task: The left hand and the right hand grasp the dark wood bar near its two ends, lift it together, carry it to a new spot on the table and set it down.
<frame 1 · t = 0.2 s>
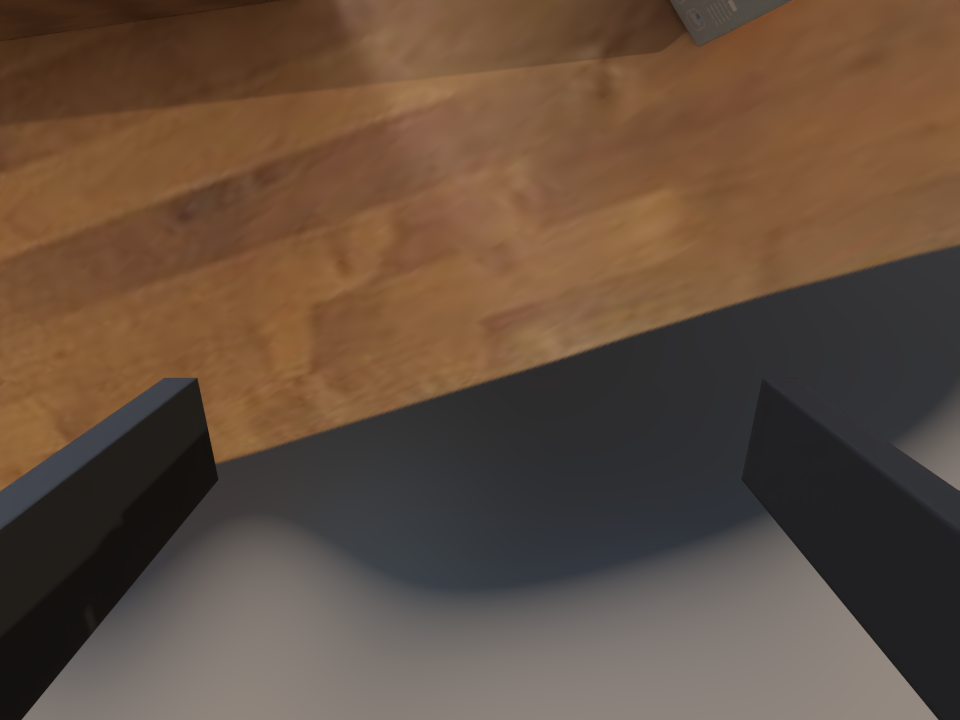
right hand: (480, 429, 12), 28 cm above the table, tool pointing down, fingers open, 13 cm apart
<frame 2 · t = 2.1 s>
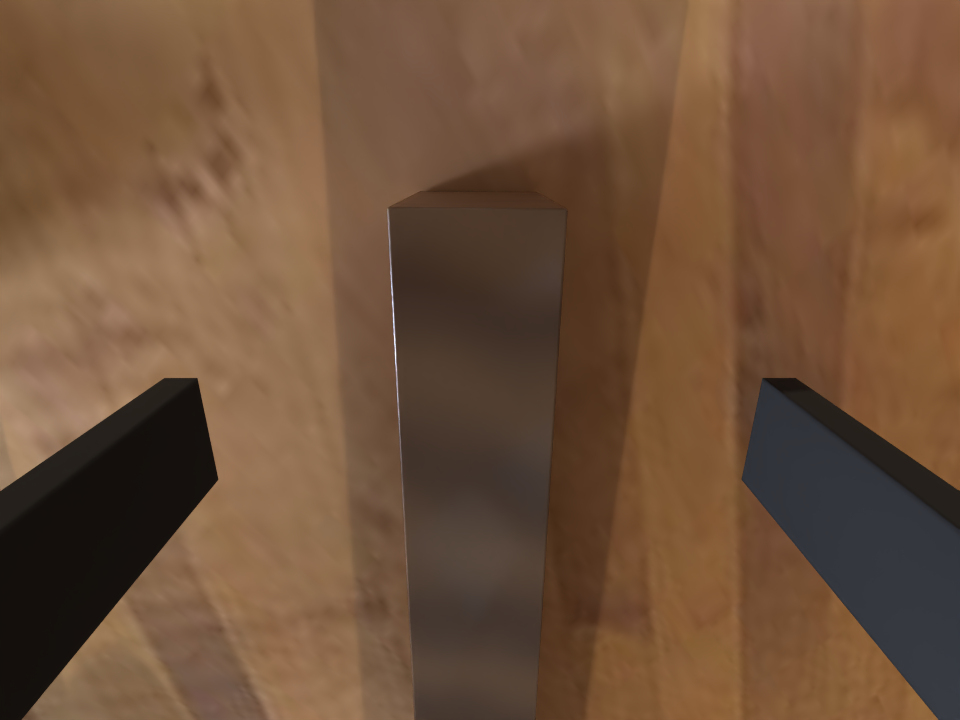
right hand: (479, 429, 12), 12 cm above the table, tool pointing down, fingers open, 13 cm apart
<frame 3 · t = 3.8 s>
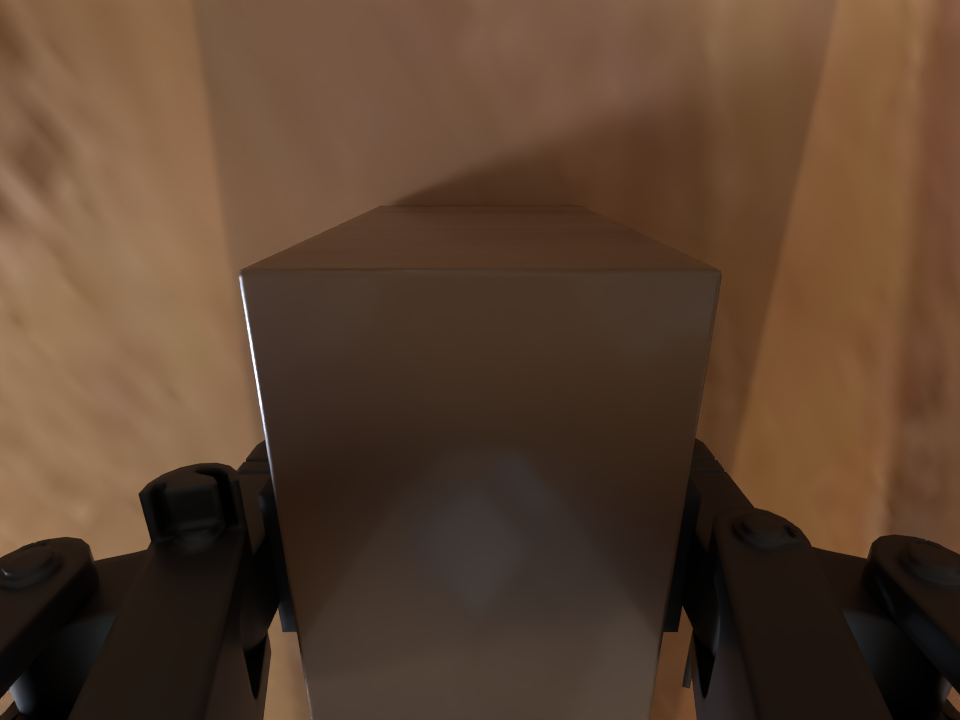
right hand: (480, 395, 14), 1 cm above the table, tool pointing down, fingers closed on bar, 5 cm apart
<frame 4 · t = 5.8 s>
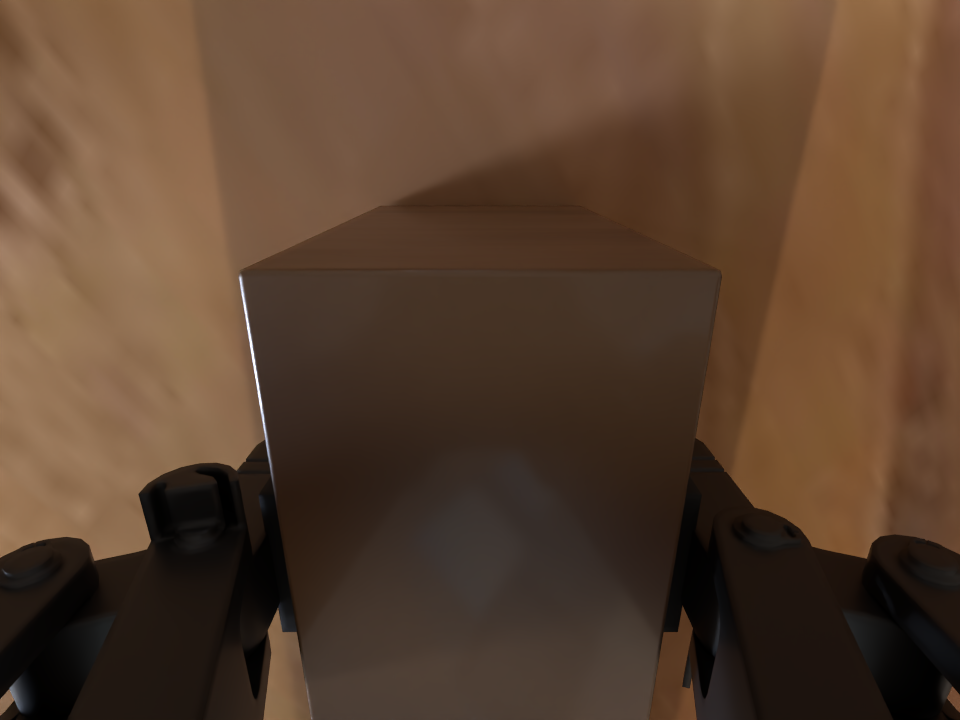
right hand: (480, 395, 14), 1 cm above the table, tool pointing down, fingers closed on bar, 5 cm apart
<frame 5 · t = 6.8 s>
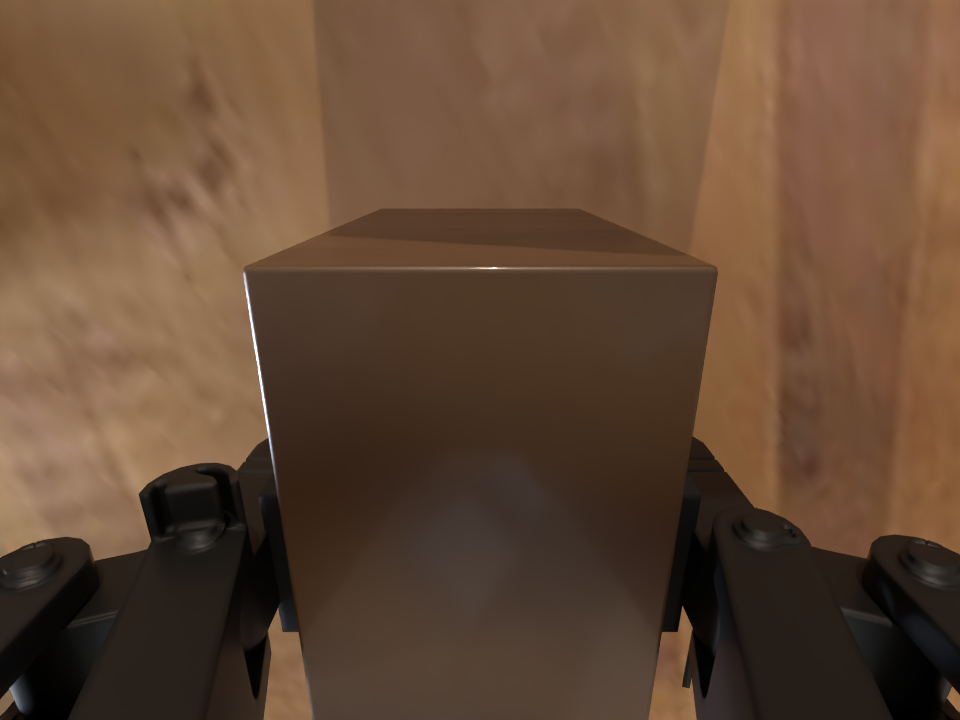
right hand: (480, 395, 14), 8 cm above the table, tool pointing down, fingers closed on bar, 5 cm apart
when the left hand's fingers open (2 cm above the table, at t = 10.1 s): bar stays where it is, on the table.
when the right hand's fingers open (2 cm above the table, at t = 10.1 s): bar stays where it is, on the table.
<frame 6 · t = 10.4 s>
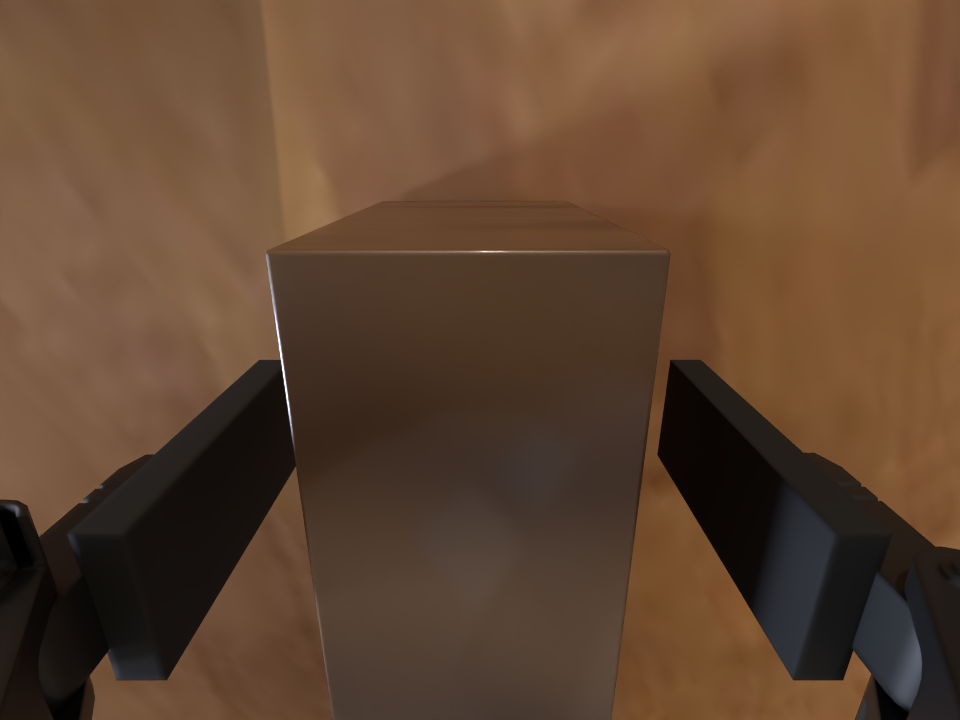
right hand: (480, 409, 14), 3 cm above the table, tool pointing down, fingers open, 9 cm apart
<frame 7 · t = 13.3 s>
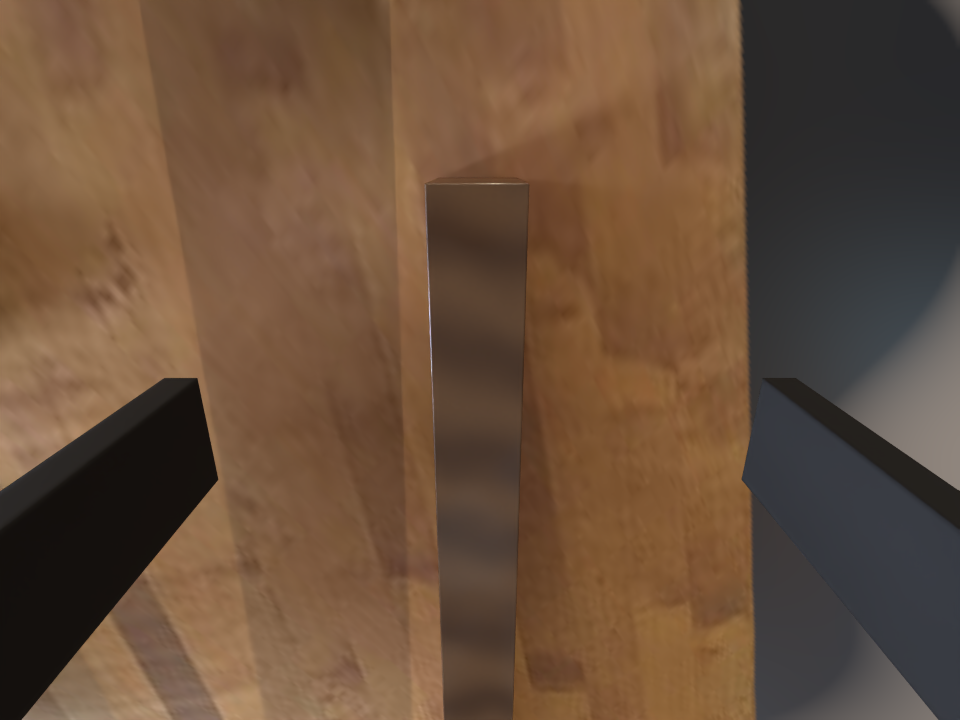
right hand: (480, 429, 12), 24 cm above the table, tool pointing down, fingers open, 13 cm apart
bar: (478, 661, 48), on the table
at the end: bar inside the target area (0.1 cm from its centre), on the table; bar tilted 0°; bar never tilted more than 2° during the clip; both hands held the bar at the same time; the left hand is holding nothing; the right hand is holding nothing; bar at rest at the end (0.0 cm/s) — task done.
